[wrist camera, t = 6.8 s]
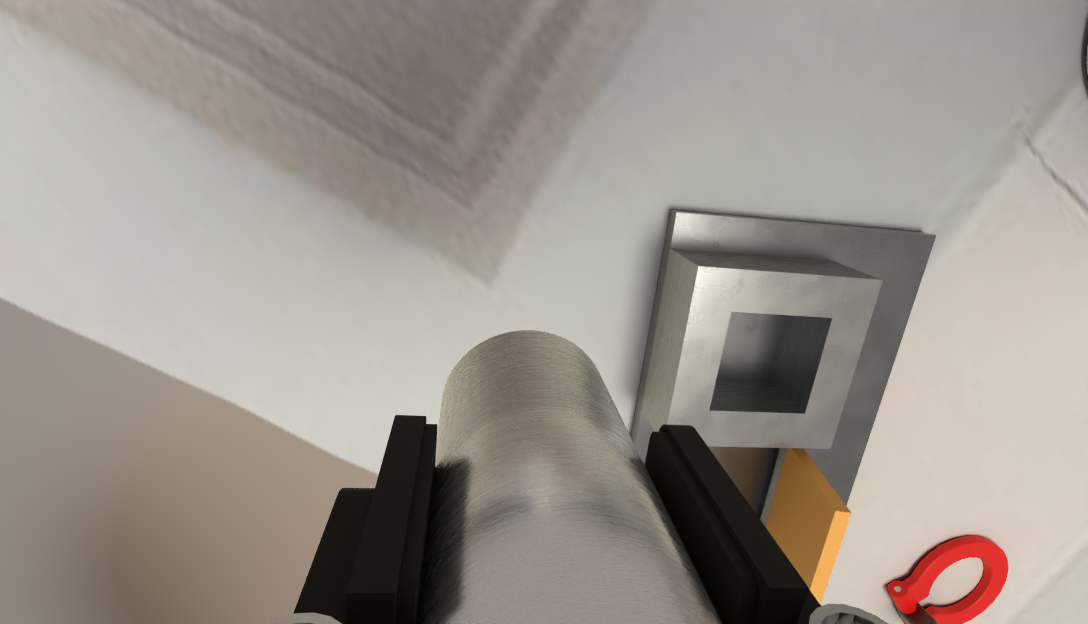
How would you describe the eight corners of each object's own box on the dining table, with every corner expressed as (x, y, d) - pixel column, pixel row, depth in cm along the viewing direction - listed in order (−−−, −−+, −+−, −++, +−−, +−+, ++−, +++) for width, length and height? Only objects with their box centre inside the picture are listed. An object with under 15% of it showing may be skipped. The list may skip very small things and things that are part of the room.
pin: (445, 325, 12) (292, 1352, 2) (615, 335, 13) (1167, 1175, 3) (437, 474, 14) (315, 1581, 3) (592, 477, 14) (904, 1424, 4)
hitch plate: (670, 209, 30) (706, 225, 26) (922, 232, 33) (998, 250, 28) (613, 531, 37) (634, 590, 33) (826, 530, 40) (873, 585, 35)
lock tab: (781, 430, 35) (835, 505, 28) (797, 432, 35) (854, 508, 28) (755, 527, 37) (798, 619, 30) (769, 528, 37) (816, 621, 30)
